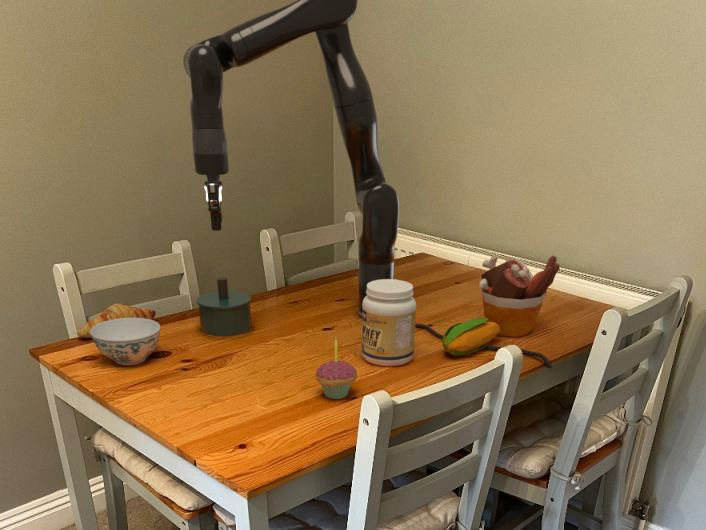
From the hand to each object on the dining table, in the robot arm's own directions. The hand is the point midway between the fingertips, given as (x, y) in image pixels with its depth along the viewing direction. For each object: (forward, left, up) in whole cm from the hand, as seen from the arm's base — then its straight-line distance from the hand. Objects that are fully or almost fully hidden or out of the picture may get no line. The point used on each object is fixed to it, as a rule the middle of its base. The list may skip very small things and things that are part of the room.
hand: (217, 226), depth 174 cm
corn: (-59, -18, -25) cm, 67 cm away
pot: (0, 0, -25) cm, 25 cm away
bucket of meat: (-63, -36, -25) cm, 77 cm away
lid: (0, 0, -18) cm, 18 cm away
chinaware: (+6, +28, -25) cm, 38 cm away
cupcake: (-44, +21, -25) cm, 55 cm away
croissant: (+23, +14, -25) cm, 37 cm away
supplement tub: (-44, -3, -25) cm, 51 cm away
